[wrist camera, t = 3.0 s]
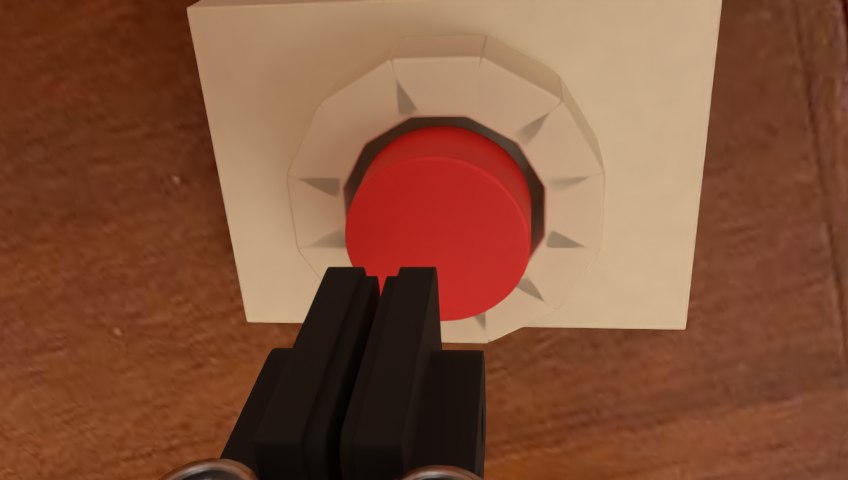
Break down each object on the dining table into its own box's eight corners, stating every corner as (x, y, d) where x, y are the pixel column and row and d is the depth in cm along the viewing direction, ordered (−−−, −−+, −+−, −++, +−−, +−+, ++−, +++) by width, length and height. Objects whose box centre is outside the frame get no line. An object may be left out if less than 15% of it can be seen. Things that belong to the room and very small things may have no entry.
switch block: (702, -32, 17) (746, 5, 14) (671, 283, 21) (699, 376, 17) (220, -12, 19) (149, 26, 15) (270, 279, 22) (222, 364, 19)
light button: (531, 122, 16) (531, 155, 14) (531, 279, 17) (530, 324, 16) (353, 125, 16) (334, 157, 15) (369, 278, 18) (353, 321, 16)
